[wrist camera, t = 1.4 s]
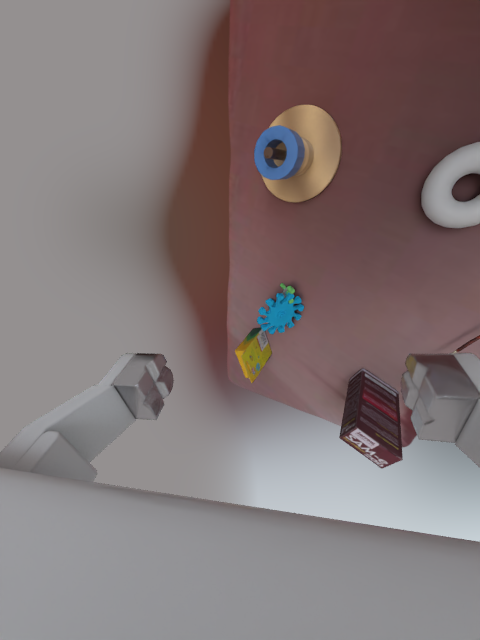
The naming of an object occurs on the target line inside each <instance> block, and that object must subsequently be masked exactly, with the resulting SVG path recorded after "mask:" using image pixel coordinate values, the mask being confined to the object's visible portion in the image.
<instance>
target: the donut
mask: <svg viewBox="0 0 480 640" xmlns="http://www.w3.org/2000/svg"><path fill="white" fill-rule="evenodd" d="M470 173H477V174H480V142H476V143H473V144H470V145H467V146H463V147H461V148H459V149H457V150H456V151H454V152H452V153H451V154H449V155H447V156H446V157H445V158H444V159H443V160H442V161H440V162H439V163H438V164H437V165H436V166H435V167H434V168H433V170H432V171H431V173H430V174H429V176H428V177H427V179H426V180H425V183H424V186H423V190H422V193H421V204H422V207H423V210H424V212H425V214H426V216H427V217H428V218H429V219H430V220H432V221H433V222H434V223H436V224H438V225H441V226H443V227H448V228H464V227H469V226H475V225H477V224H480V194H479V195H478V196H477V197H476V198H474V199H472V200H470V201H467V202H459V201H457V200H455V199H454V198H453V196H452V188H453V185H454V184H455V183H456V181H457V180H458V179H459V178H461V177H462V176H464V175H467V174H470Z"/></svg>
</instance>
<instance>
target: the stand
mask: <svg viewBox="0 0 480 640" xmlns="http://www.w3.org/2000/svg"><path fill="white" fill-rule="evenodd" d="M278 125H281V126H284V127H286V128H289V129H291V130H293V131H296V132H297V133H298V134H299V136H300V137H301V138H302V140H303V144H304V147H305V156H304V160H303V163H302V165H301V168H300V169H299V170H298V171H297V173H296V174H295V175H294V176H292V177H290V178H288V179H281V180H270V179H267V178H265V177H263V176H262V178H263V180H264V182H265V184H266V186H267V188H268V189H269V190H270V191H271V193H272V194H274V195H275V196H276V197H278V198H279V199H281V200H284V201H287V202H302V201H306V200H309V199H311V198H313V197H315V196H317V195H318V194H320V193H321V192H322V191H323V190H324V189H325V188H326V187H327V186H328V185H329V184H330V182H331V181H332V179H333V178H334V176H335V174H336V172H337V170H338V167H339V164H340V160H341V154H342V141H341V135H340V132H339V129H338V127H337V124H336V123H335V121H334V120H333V118H332V117H331V116H330V115H329V114H328V113H327V112H325V111H324V110H323V109H321V108H319V107H316V106H313V105H299V106H295V107H292V108H290V109H288V110H286V111H285V112H283V113H282V114H280V115H279V116H278V117H277V118H276V119H275V120H274V122H273V123H272V124H271V125H270V127H272V126H278ZM270 127H269V128H270ZM286 156H287V149H286V146H285V144H284V143H283V142H282V143H280V144H279V145H277V147H276V148H272V147H266V148H265V150H264V157H265V158H266V159H273V160H274V163H275V164H276V165H277V166H278V167H279V166H281V165H282V164H283V163H284V161H285V159H286ZM261 175H262V174H261Z"/></svg>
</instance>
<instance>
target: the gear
mask: <svg viewBox="0 0 480 640" xmlns="http://www.w3.org/2000/svg"><path fill="white" fill-rule="evenodd" d="M280 286H281V287H282V288H283V292H282V293H277V295H276V297H277V300H276V303H275V301H274V300H273V299H271V298H270V299H268V300H266V304H267V305H268V306H269V311H267V312H266V310H265V309H264V307H261V308H260V309H259V311H258V312H259V313H260V315H266V316H267V317H266V318H262V317H258V319H257V322H258V324H262V323H266V322H268V324H262V325H261V328H262V330H263V331H266V330H267V329H268V328H269V327H270V328H269V329H268V331H269V333H270V334H274V333H275V330H276V329H277V328H278V329H277V330H278V332H279V333H282V332H284V331H285V330H284V327H285V325H286V323H287V322H288V323H287V326H288V327H289V328H291V327H293V326H294V323H293V322H292V321H291V318H292V317H293V316H294V318H295V319H296V320H299V319H300V318H301V315H300V314H299V313H294V311H295V310H297V309H298V310H299V311H303V309H304V306H303V305H302V304H299V303H301V298H300V297H299V296H297V297H295V296H294V295H293V293H294V292H295V290H294V289H293V288H292V286H288V287H286V286H285V285H284V284H283V283H281V284H280ZM294 297H295V298H294ZM293 298H294V299H293ZM295 303H297V304H299V305H296V306H293V305H294V304H295ZM271 326H273V327H271ZM279 326H280V327H279Z"/></svg>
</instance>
